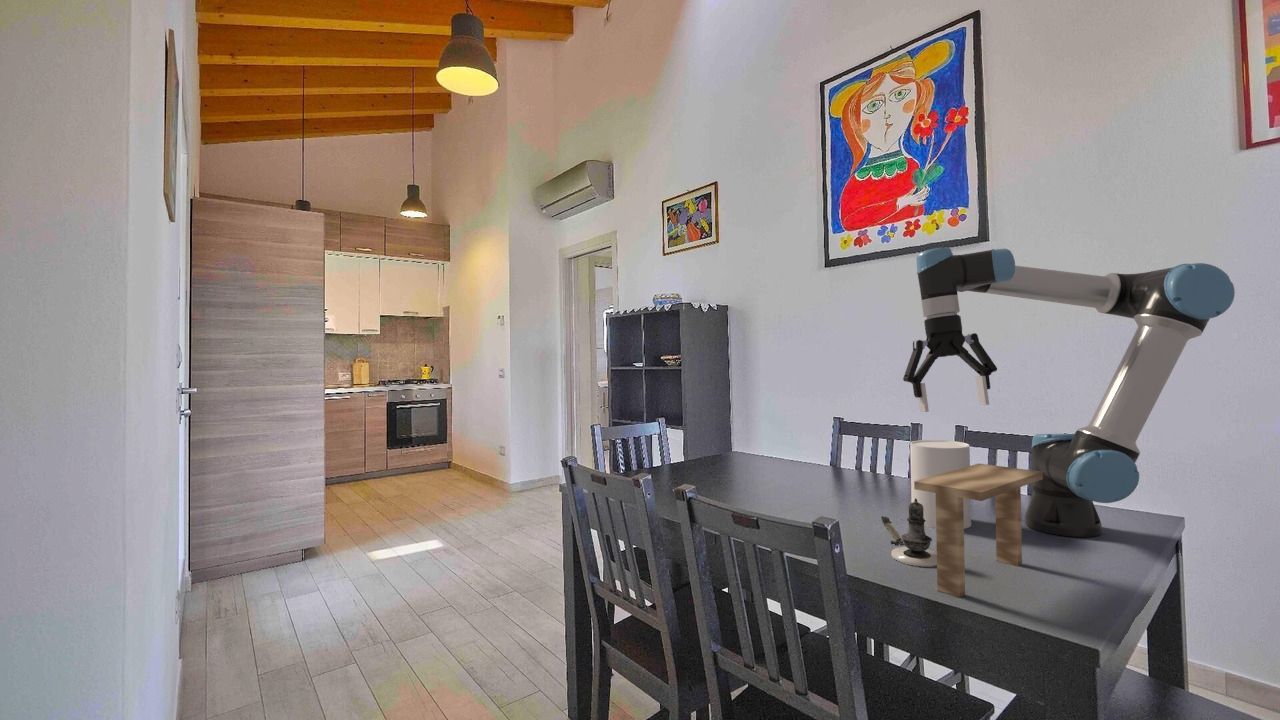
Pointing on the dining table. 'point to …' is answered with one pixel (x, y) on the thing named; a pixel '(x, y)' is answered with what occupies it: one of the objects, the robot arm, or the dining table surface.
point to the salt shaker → (916, 533)
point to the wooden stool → (950, 515)
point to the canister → (937, 472)
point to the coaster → (900, 556)
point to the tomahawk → (892, 531)
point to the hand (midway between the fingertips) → (954, 408)
